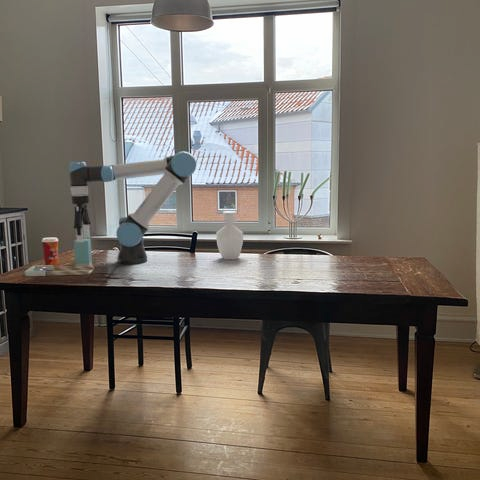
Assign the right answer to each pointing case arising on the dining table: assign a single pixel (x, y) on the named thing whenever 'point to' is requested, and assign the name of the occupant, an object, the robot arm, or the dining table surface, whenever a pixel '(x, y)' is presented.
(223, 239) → the vase
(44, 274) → the tray
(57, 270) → the slot board
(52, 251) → the paper cup
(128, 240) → the robot arm
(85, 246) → the teal tall block
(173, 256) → the dining table surface
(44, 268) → the chip
